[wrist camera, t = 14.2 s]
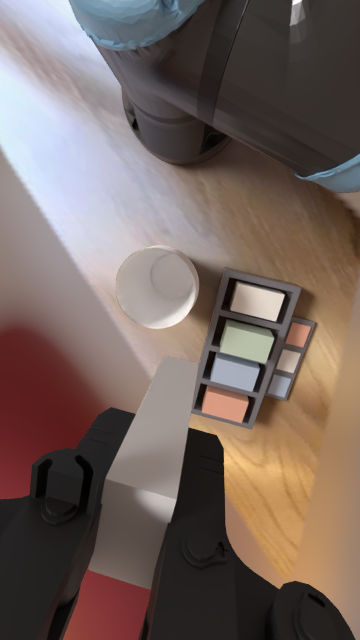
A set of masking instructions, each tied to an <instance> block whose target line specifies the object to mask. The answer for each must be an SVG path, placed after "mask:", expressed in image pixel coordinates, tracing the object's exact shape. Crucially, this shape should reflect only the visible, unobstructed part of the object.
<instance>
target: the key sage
mask: <svg viewBox="0 0 360 640" xmlns="http://www.w3.org/2000/svg"><path fill="white" fill-rule="evenodd" d="M273 341H274V337H273V335H272V333H271V331H270V330H269V329H265V328H261V327H257V326H253V325H249V324H245V323H241V322H237V321H233V320H229V319H227V320H226V324H225V327H224V331H223V334H222V338H221V341H220V352H223V353H226V354H230V355H234V356H238V357H242V358H246V359H250V360H254V361H257V362H261V363H265V364H266V361H267V358H268V355H269V352H270V349H271V346H272V344H273Z"/></svg>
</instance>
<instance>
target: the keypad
mask: <svg viewBox="0 0 360 640" xmlns="http://www.w3.org/2000/svg"><path fill="white" fill-rule="evenodd" d="M229 277H231V278H236V279H240V280H244V281H248V282H252V283H256V284H261V285H265V286H269V287H273V288H277V289H282V290H286V293H285V296H284V299H283V302H282V305H281V308H280V311H279V314H278V317H277V320H276V321H272V320H268V319H264V318H260V317H255V316H251V315H247V314H243V313H239V312H235V311H231V310H230V306H226V305H222V303H223V299H224V295H225V292H226V288H227V284H228V281H229ZM301 289H302V288H301V287H299V286H298V285H296V284H293V283H289V282H285V281H281V280H276V279H272V278H268V277H264V276H260V275H255V274H251V273H247V272H243V271H238V270H234V269H230V268H226V267H225V268H224V271H223V275H222V279H221V283H220V286H219V290H218V294H217V298H216V302H215V305H214V309H213V313H212V317H211V320H210V324H209V328H208V332H207V336H206V339H205V343H204V347H203V351H202V354H201V358H200V362H199V366H198V372H197V378H196V384H195V390H194V396H193V403H192V409H191V413H193V414H197V415H200V416H204V417H208V418H211V419H215V420H219V421H222V422H226V423H230V424H233V425H237V426H241V427H244V428H248V429H252V428H253V425H254V422H255V419H256V417H257V414H258V411H259V408H260V405H261V402H262V400H263V397H264V394H265V391H266V388H267V385H268V382H269V380H270V377H271V374H272V371H273V368H274V365H275V363H276V360H277V357H278V354H279V351H280V348H281V346H282V343H283V340H284V337H285V334H286V331H287V328H288V326H289V323H290V320H291V317H292V314H293V311H294V309H295V306H296V303H297V300H298V297H299V294H300V292H301ZM219 315H221V316H225V317H229V318H233V319H237V320H241V321H245V322H249V323H253V324H257V325H261V326H265V327H269V328H273V332H272V335H273V337H274V341H273V344H272V346H271V349H270V352H269V355H268V358H267V361H266V364H265V363H261V362H257V361H254V360H250V359H246V358H242V357H238V356H234V355H230V354H226V353H223V352H220V341H221V339H217V338H213V336H214V332H215V328H216V325H217V321H218V317H219ZM209 350H210V351H214V352H218V353H222V354H226V355H230V356H233V357H237V358H241V359H245V360H249V361H253V362H257V363H261V364H262V365H261V368H260V370H259V373H258V376H257V379H256V382H255V385H254V388H253V391H252V392H251V391H247V390H243V389H239V388H235V387H232V386H228V385H224V384H220V383H217V382H213V381H211V370H209V369H205V365H206V361H207V358H208V354H209ZM200 383H203V384H206V385H210V386H214V387H218V388H221V389H225V390H229V391H233V392H236V393H240V394H244V395H248V396H251V397H250V400H249V403H248V406H247V409H246V412H245V415H244V418H243V421H242V423H239V422H235V421H232V420H228V419H224V418H221V417H217V416H213V415H210V414H206V413H202V403H203V399H202V398H198V397H197V394H198V391H199V387H200Z"/></svg>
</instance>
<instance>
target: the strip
mask: <svg viewBox="0 0 360 640" xmlns="http://www.w3.org/2000/svg"><path fill="white" fill-rule="evenodd" d="M314 326H315V322H314V321H310V320H306V319H302V318H298V317H294V316H292V317H291V320H290V323H289V326H288V328H287V331H286V334H285V337H284V340H283V343H282V346H281V348H280V351H279V354H278V357H277V360H276V363H275V365H274V368H273V371H272V374H271V377H270V380H269V382H268V385H267V388H266V391H265V394H264V396H268V397H272V398H276V399H279V400H283V401H286V399H287V397H288V394H289V391H290V389H291V386H292V383H293V381H294V378H295V376H296V373H297V370H298V368H299V365H300V362H301V360H302V357H303V354H304V352H305V349H306V347H307V344H308V341H309V339H310V336H311V333H312V331H313V328H314Z"/></svg>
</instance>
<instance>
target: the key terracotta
mask: <svg viewBox="0 0 360 640" xmlns="http://www.w3.org/2000/svg"><path fill="white" fill-rule="evenodd" d="M248 403H249V401H248V396H247V395H244V394H240V393H236V392H233V391H229V390H225V389H221V388H218V387H214V386H210V385H207V387H206V390H205V394H204V397H203V403H202V413H206V414H210V415H213V416H217V417H221V418H224V419H228V420H232V421H235V422H239V423H242V421H243V418H244V415H245V412H246V409H247V406H248Z"/></svg>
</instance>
